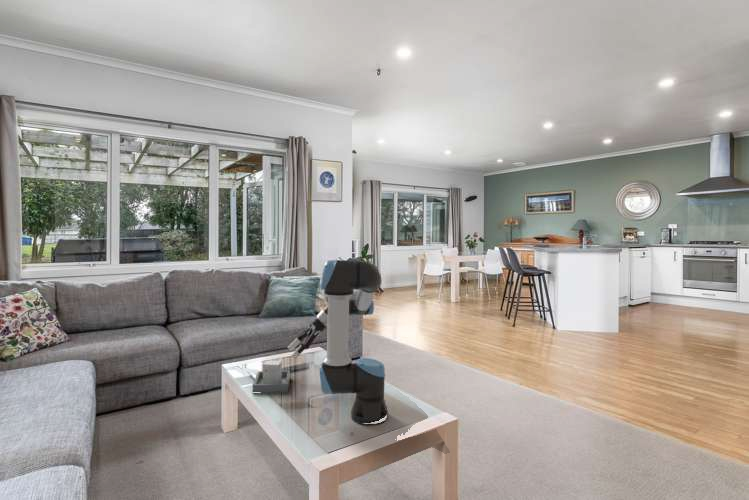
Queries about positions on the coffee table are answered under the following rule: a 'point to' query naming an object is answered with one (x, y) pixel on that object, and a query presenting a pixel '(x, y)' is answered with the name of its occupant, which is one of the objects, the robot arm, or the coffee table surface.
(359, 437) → the coffee table surface
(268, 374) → the small box
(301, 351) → the robot arm
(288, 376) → the tray
